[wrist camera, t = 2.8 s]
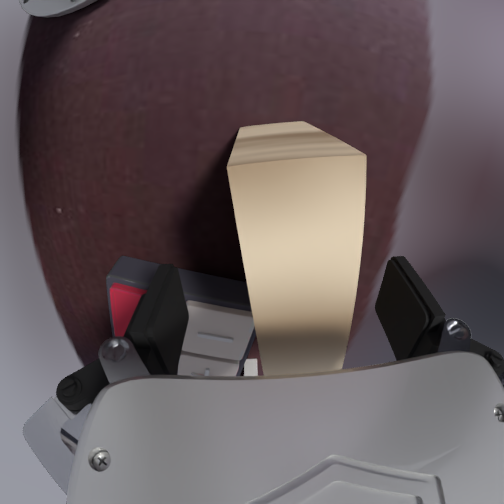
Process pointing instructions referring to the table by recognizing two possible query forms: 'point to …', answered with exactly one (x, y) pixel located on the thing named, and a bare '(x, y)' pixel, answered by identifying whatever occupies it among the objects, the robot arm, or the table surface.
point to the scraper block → (299, 241)
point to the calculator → (191, 316)
